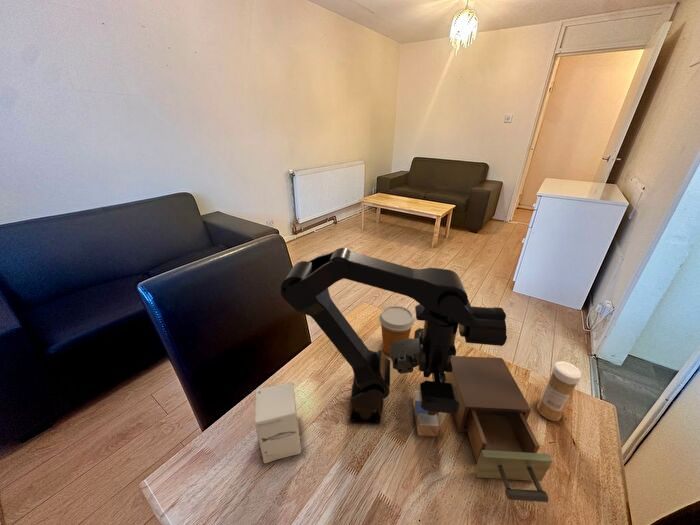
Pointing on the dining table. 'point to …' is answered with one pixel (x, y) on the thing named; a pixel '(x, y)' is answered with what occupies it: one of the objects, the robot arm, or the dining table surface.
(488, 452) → the drawer
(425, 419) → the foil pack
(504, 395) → the cabinet
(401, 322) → the orange tub
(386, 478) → the dining table surface
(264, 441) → the white packaging box
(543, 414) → the sprinkles bottle
